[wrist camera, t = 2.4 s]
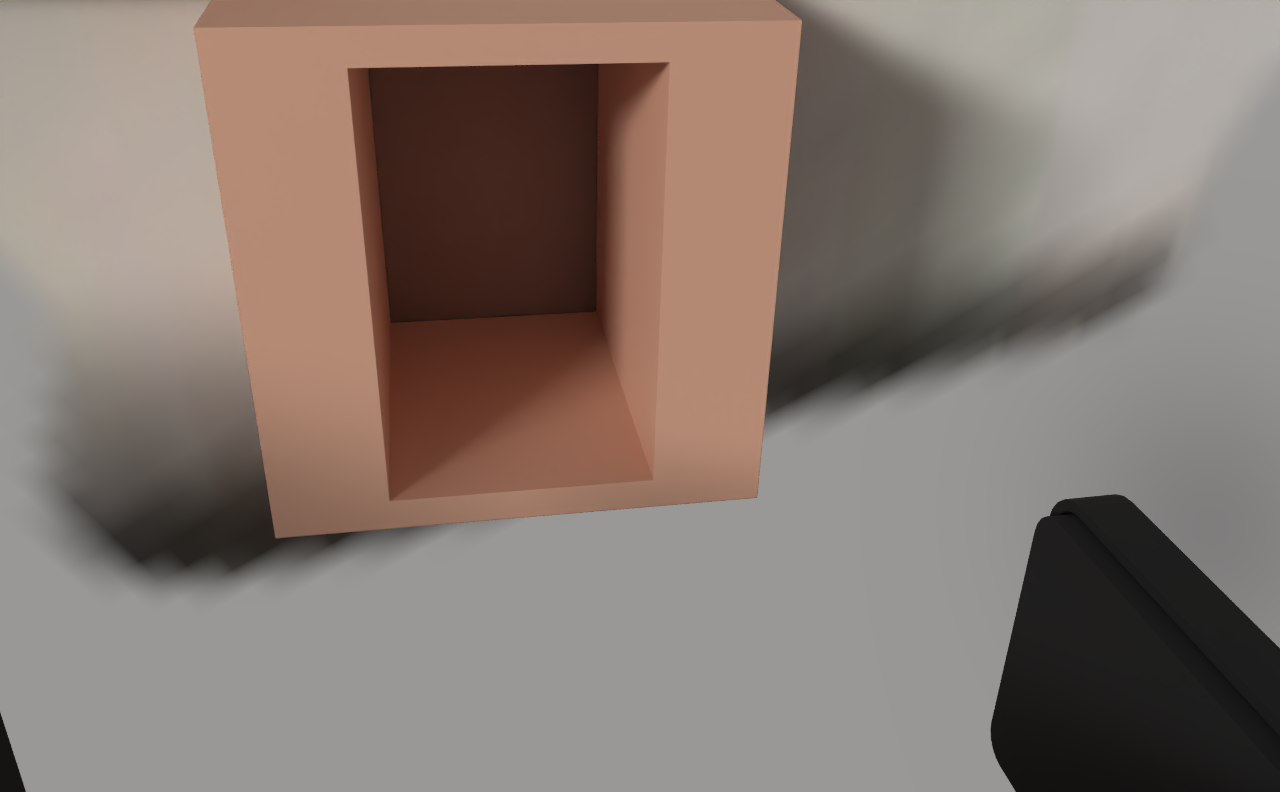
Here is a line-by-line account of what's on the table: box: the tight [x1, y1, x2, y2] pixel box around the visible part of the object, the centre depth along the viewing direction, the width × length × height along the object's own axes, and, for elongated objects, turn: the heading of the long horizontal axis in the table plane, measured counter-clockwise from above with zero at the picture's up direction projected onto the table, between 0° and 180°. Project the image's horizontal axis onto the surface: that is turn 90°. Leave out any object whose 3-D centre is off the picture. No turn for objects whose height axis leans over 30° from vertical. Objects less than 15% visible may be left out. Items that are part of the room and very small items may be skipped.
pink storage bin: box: [194, 0, 802, 538], centre depth 19 cm, size 7×7×6 cm
